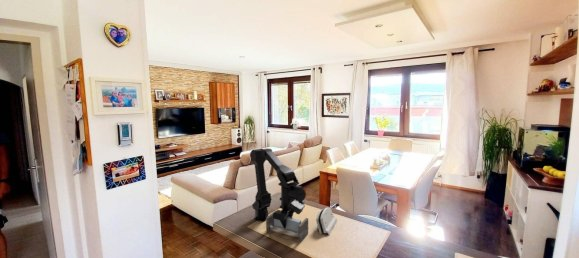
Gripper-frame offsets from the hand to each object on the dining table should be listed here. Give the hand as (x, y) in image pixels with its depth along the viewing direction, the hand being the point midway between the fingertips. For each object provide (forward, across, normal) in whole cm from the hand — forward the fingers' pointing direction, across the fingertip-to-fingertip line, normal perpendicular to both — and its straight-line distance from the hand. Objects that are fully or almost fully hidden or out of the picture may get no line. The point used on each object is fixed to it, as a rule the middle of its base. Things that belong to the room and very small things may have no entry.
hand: (287, 225), depth 121 cm
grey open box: (+4, 0, 0) cm, 4 cm away
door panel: (+3, 0, 0) cm, 3 cm away
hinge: (+4, +16, -15) cm, 22 cm away
